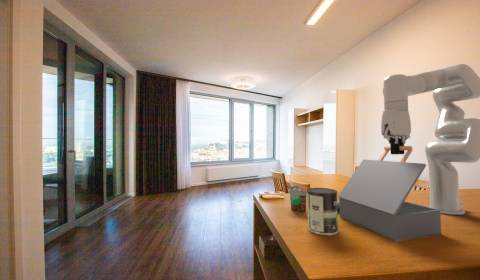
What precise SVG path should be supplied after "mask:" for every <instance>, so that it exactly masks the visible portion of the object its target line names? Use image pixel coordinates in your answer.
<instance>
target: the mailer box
mask: <svg viewBox="0 0 480 280" xmlns="http://www.w3.org/2000/svg"><path fill="white" fill-rule="evenodd" d="M338 199H339V200H338V202H339V207H340V213H339V218H341V219H342V220H345V221H347V222H350V223H352V224H354V225H357V226H359V227H361V228H362V229H365V230H367V231H369V232H371V233H374V234H376V235H378V236H381V237H383V238H385V239H388V240H390V241H392V242H394V243H398V242H404V241H409V240H410V241H411V240H414V239H420V238H427V237H431V236H438V235H439V236H440V235H442V219H441V213H440V210H438V209H434V208H430V207H426V205H422V204H417V203H413V202H409V201H404V203H403V204H402V206H401V207H400V209H399V211H398V212H397V214H396V215H395V216H394V215H391V214H387V213H384V212H381V211H378V210H375V209H372V208H369V207H366V206H363V205H360V204H357V203H354V202H351V201H348V200H344V199H341V198H339V197H338Z"/></svg>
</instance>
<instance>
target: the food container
mask: <svg viewBox="0 0 480 280" xmlns="http://www.w3.org/2000/svg"><path fill="white" fill-rule="evenodd" d="M288 194H289V199H290V208H291V209H290V210H292V212H296V213H307V190H302V189H301V188H298V185H295V186H293V185H292V186H289V189H288Z"/></svg>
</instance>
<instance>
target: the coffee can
mask: <svg viewBox="0 0 480 280" xmlns="http://www.w3.org/2000/svg"><path fill="white" fill-rule="evenodd" d="M306 193H307V196H306V204H307V230H308V231H309V232H311V233H313V234H317V235H321V236H336V235H338V233H339V224H338V223H339V220H338V213H337V202H338V191H337V190H336V189H334V188H327V187H326V188H325V187H309V188H307V189H306Z"/></svg>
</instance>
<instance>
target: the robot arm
mask: <svg viewBox="0 0 480 280" xmlns="http://www.w3.org/2000/svg"><path fill="white" fill-rule="evenodd" d="M432 91H433V92H432ZM428 92H429V93H430V92H432V97H433V102H434V103H435V106H436V107H437V109H438V113H439V114H438V119H437V122H436V126H435V131H434V136H435V138H436V139H437V140H434V141H431V142H428V143H427V144H426V145H425V148H424V151H425V157H426V160H427V165H428V180H429V181H428V183H429V185H428V186H429V204H426V205H425V206H426V207H430V208H434V209H438V210H440V214H442V215H443V214H444V215H451V216H453V215H454V216H463V215H465V214H466V211H465V210H464V209H462V208H461V207H462V206H465V205H466V204H465V202H464V201H462V200H461V201H460V191H459V190H460V189H459V188H460V187H459V172H458V170H457V168H456V167H455V166H454V165H453V164H452V163H468V164H470V163H471V164H472V163H476V162H479V160H480V118H475V117H474V118H473V117H470V118H465V115H466V113H465V112H466V111H464V110H463V108H461V107H460V106H459V105H457V104H455V102H461V101H468V100H474V99H478V98H480V77H479V75H478V74H477V73H476V72H475V69H473V68H472V67H470V66H469V65H468V64H465V63H458V64H456V65H451V66H447V67H445V68H439V69H436V70H431V71H426V72H422V73H418V74H415V75H406V74H402V73H401V74H400V73H399V74H392V75H390V76H386V77H385V78H384V79H383V87H382V94H383V104H384V108H383V110H384V111H382V115H381V122H380V123H381V126H380V127H381V128H380V130H381V132H380V133H381V134H380V135H382V136H383V139H386V140H387V141H388V145H389V146H390V148H391V150H390V155H405V150H400V147H399V146H405V144H406V141H407V140H408V139H410V137H411V136H410V135H411V133H412V126H411V125H412V124H411V117H410V116H411V115H410V111H409V97H410V96H416V95H419V94H424V93H428Z"/></svg>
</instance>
